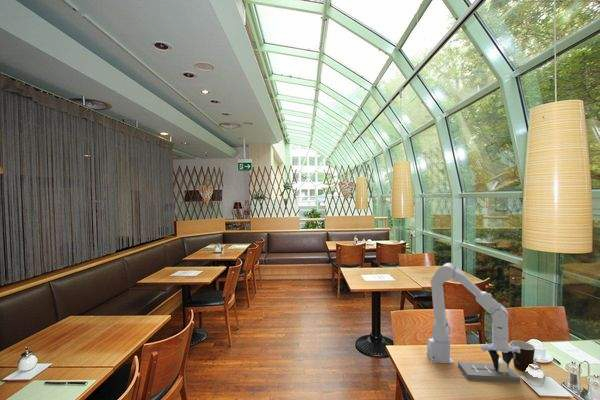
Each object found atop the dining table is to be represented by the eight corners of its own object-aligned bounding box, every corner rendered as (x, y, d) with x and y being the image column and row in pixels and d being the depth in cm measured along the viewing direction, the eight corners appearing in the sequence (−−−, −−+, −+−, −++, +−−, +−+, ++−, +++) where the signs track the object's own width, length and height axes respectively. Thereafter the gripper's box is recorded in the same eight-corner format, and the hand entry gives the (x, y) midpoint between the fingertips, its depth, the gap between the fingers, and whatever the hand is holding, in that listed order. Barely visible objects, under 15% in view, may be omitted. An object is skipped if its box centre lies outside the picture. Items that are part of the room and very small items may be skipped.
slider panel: (467, 379, 124) (467, 374, 124) (458, 366, 134) (458, 361, 134) (520, 382, 122) (520, 377, 122) (506, 369, 132) (506, 364, 132)
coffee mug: (535, 375, 126) (535, 351, 126) (510, 369, 131) (510, 346, 132) (535, 364, 135) (534, 341, 136) (511, 358, 141) (511, 336, 141)
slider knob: (499, 372, 125) (499, 363, 125) (494, 366, 130) (493, 357, 130) (507, 372, 125) (507, 363, 125) (501, 366, 129) (501, 358, 129)
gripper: (486, 339, 124) (486, 372, 124) (524, 341, 122) (525, 374, 122) (478, 332, 131) (478, 363, 131) (514, 333, 129) (514, 365, 129)
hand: (500, 368), depth 127 cm, fingers closed on slider knob, 3 cm apart
